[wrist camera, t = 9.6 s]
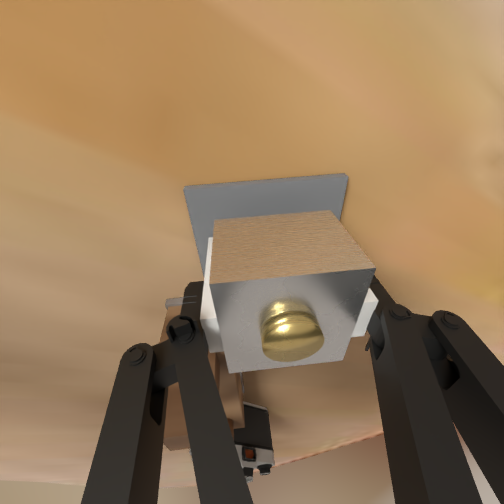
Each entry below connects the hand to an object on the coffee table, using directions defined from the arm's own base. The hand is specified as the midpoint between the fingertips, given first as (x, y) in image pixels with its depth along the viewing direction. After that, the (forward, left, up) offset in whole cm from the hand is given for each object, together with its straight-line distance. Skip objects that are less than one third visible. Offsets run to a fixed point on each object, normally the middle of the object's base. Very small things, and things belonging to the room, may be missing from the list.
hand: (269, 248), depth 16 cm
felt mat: (0, 0, -1) cm, 1 cm away
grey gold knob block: (0, 0, +2) cm, 2 cm away
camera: (-6, -30, -1) cm, 31 cm away
